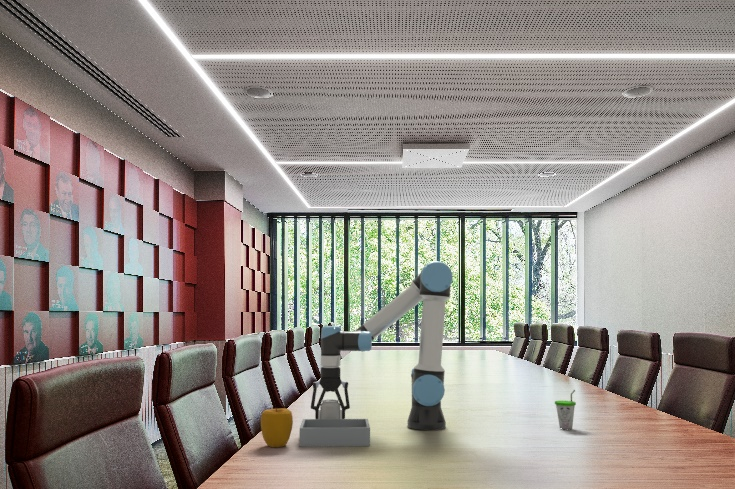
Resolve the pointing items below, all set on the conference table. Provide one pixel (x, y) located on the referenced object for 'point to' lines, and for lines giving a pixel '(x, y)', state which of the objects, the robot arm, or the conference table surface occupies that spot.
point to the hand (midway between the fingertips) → (330, 427)
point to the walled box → (334, 432)
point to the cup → (565, 413)
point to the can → (330, 409)
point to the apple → (276, 426)
